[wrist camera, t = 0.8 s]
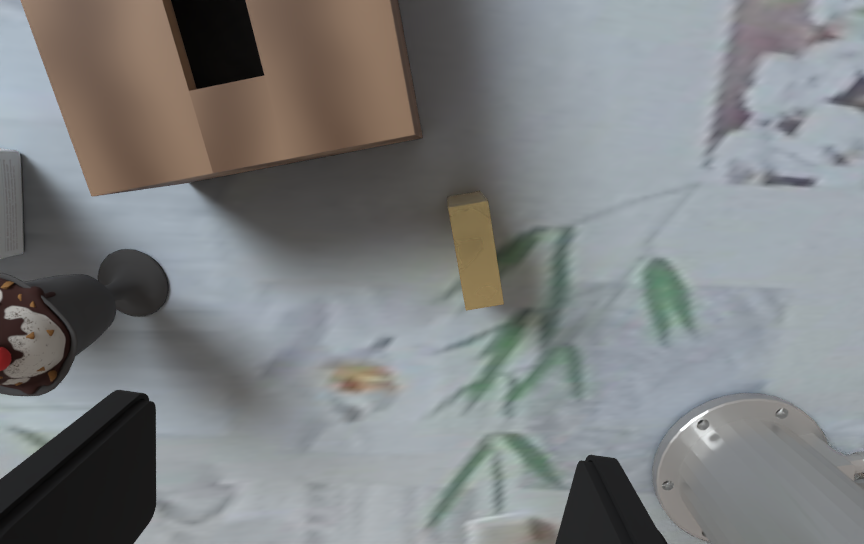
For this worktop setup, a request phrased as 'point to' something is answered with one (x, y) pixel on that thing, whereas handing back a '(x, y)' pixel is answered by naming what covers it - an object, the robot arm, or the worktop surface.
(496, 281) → the tan rectangular block
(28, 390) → the sundae
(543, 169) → the worktop surface
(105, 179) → the brown slotted wooden box
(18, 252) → the supplement box
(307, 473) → the worktop surface
